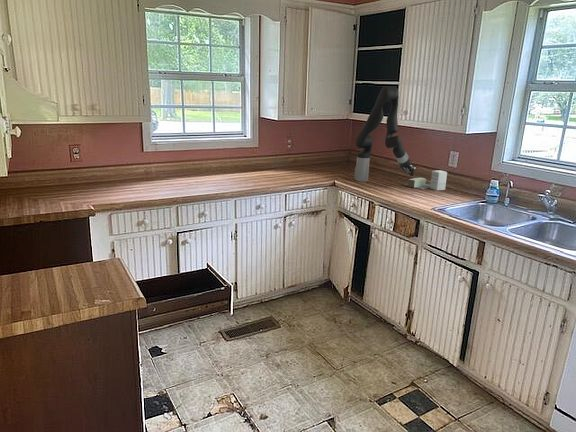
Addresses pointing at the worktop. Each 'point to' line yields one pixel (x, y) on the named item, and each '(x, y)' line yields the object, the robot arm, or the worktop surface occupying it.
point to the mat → (421, 186)
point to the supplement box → (438, 180)
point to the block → (416, 182)
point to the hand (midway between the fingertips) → (412, 175)
